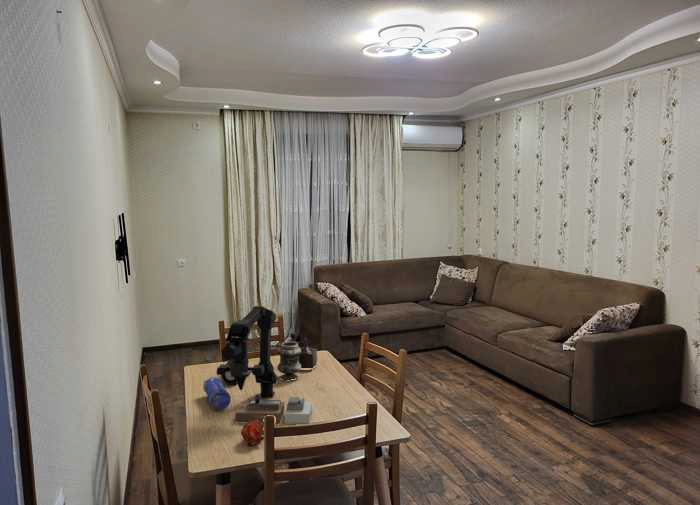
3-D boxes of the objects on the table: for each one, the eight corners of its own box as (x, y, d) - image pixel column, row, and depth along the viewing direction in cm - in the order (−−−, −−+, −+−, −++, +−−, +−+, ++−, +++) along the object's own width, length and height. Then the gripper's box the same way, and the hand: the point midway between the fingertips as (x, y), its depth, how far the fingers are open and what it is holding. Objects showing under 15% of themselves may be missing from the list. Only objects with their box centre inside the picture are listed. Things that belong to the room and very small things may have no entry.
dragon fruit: (258, 438, 197) (253, 457, 185) (239, 426, 195) (233, 445, 184) (270, 422, 195) (266, 440, 183) (252, 410, 194) (246, 428, 182)
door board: (242, 410, 219) (242, 396, 218) (284, 411, 218) (284, 396, 218) (235, 422, 207) (235, 407, 206) (279, 423, 206) (279, 408, 206)
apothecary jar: (297, 382, 253) (297, 347, 252) (274, 381, 255) (274, 346, 253) (303, 374, 265) (303, 340, 263) (281, 373, 267) (281, 339, 265)
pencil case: (203, 395, 236) (202, 375, 235) (221, 393, 240) (221, 373, 239) (211, 413, 216) (210, 391, 215) (231, 410, 220) (231, 388, 219)
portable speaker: (240, 385, 249) (240, 365, 248) (220, 385, 249) (219, 365, 248) (249, 369, 275) (249, 350, 274) (231, 369, 275) (230, 350, 274)
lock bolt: (250, 407, 211) (250, 396, 211) (251, 405, 213) (251, 393, 213) (279, 408, 211) (278, 396, 210) (280, 405, 213) (279, 394, 213)
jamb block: (289, 411, 218) (288, 394, 217) (312, 411, 218) (312, 394, 217) (284, 423, 206) (284, 405, 206) (309, 423, 206) (309, 405, 205)
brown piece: (318, 364, 282) (317, 332, 280) (312, 371, 271) (312, 337, 269) (291, 362, 285) (290, 331, 283) (284, 369, 274) (284, 336, 272)
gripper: (212, 358, 203) (213, 396, 204) (258, 359, 202) (259, 397, 203) (220, 350, 214) (221, 386, 215) (264, 351, 213) (264, 387, 215)
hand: (241, 389), depth 212 cm, fingers closed
